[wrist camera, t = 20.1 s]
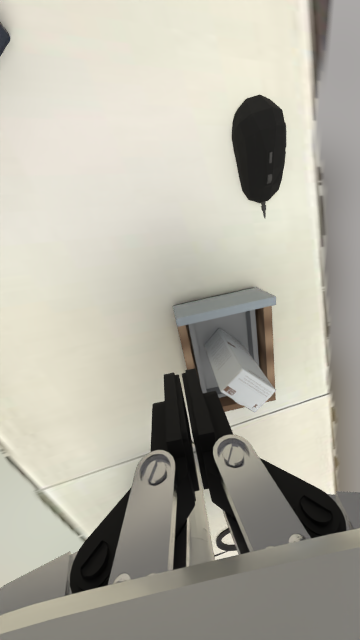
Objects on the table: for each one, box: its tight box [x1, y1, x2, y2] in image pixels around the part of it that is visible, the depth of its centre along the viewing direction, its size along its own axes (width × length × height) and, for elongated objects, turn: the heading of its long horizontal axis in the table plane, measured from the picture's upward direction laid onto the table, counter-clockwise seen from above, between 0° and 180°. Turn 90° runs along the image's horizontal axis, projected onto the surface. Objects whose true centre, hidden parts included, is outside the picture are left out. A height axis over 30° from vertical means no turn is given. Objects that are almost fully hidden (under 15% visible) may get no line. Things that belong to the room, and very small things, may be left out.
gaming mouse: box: [232, 95, 286, 218], centre depth 28 cm, size 6×15×4 cm, turn 16°
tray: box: [173, 287, 276, 398], centre depth 35 cm, size 18×14×6 cm
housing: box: [178, 306, 276, 412], centre depth 37 cm, size 18×14×6 cm
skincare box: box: [204, 328, 276, 412], centre depth 31 cm, size 6×4×12 cm
